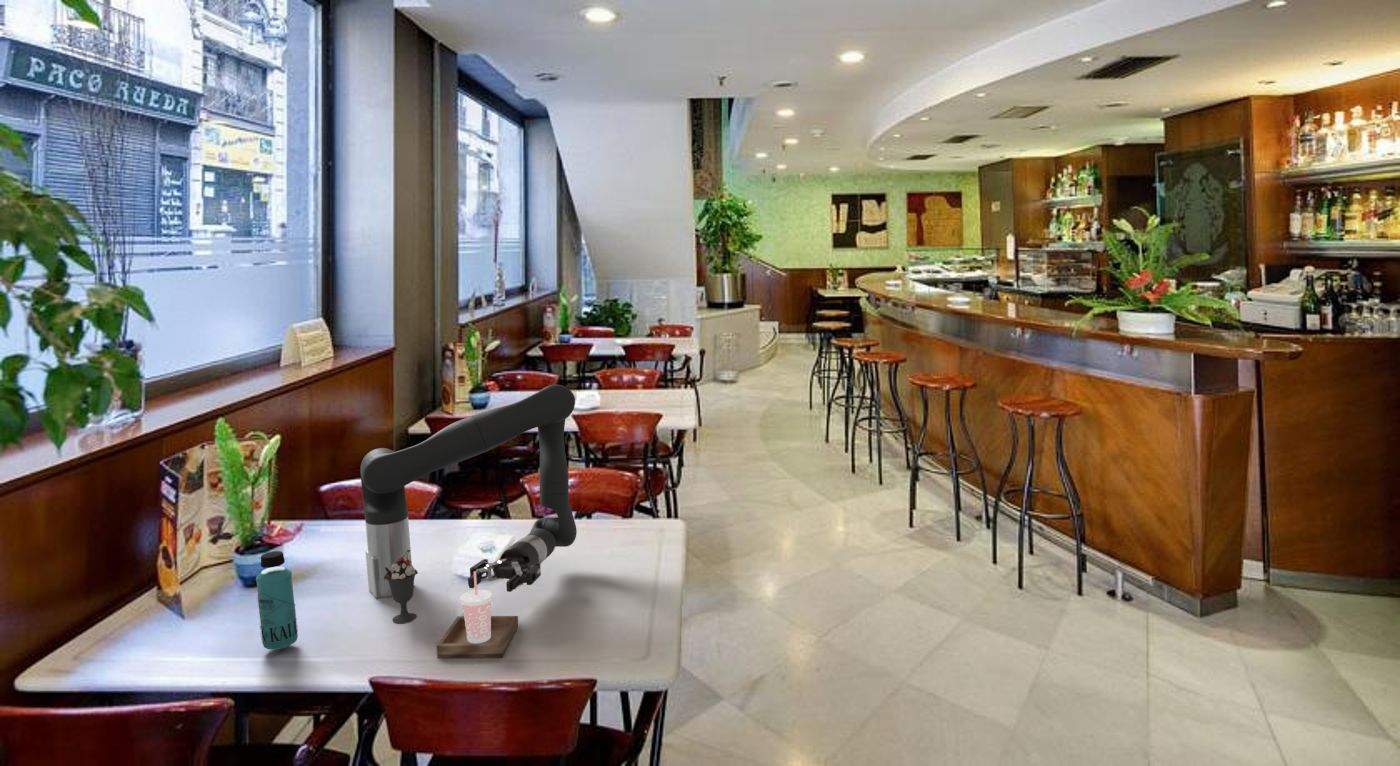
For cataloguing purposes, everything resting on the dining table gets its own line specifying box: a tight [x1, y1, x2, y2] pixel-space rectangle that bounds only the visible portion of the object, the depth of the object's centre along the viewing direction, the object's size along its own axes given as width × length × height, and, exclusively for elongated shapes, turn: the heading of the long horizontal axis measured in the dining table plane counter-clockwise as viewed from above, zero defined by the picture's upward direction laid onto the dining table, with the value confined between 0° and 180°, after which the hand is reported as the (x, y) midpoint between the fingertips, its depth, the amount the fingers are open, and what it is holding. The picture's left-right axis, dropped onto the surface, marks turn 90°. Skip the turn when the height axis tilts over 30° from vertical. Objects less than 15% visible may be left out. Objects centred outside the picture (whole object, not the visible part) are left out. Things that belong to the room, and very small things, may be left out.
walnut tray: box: [436, 615, 519, 659], centre depth 159 cm, size 13×13×3 cm
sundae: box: [384, 550, 419, 624], centre depth 169 cm, size 7×7×15 cm
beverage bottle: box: [255, 550, 299, 650], centre depth 156 cm, size 6×7×20 cm
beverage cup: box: [460, 571, 493, 643], centre depth 158 cm, size 6×6×14 cm
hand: (489, 585), depth 163 cm, fingers open, 8 cm apart
